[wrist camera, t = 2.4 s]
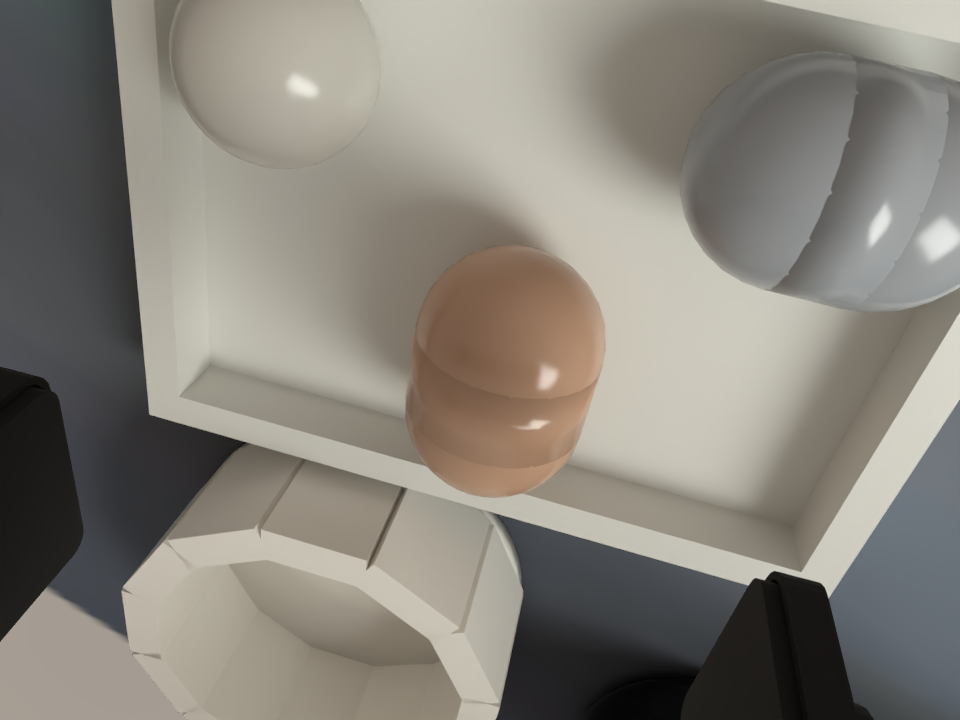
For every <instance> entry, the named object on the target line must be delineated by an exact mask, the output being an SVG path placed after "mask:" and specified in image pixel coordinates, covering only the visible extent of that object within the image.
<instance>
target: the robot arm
mask: <svg viewBox="0 0 960 720" xmlns="http://www.w3.org/2000/svg"><path fill="white" fill-rule="evenodd" d="M82 537H83V523H82V517H81V512H80V507H79V502H78V497H77V491H76V486H75V481H74V476H73V471H72V465H71V460H70V455H69V450H68V444H67V439H66V434H65V429H64V424H63V418H62V413H61V408H60V403H59V399H58V396H57V395H56V394H55V393H54V392H51V389H50V387H49V384H48V382H47V381H46V380H45V379H44V378H41V377H37V376H33V375H30V374H26V373H22V372H18V371H14V370H11V369H7V368H3V367H0V641H1V640H2V639H3V638H4V636H5V635H6V634H7V633H8V632H9V631H10V629H11V628H12V627H13V626H14V625H15V623H16V622H17V621H18V620H19V619H20V618H21V616H22V615H23V614H24V613H25V612H26V611H27V609H28V608H29V607H30V606H31V605H32V604H33V602H34V601H35V600H36V599H37V598H38V596H39V595H40V594H41V593H42V592H43V591H44V589H45V588H46V587H47V586H48V585H49V584H50V582H51V581H52V580H53V579H54V578H55V576H56V575H57V574H58V573H59V572H60V571H61V569H62V568H63V567H64V566H65V565H66V563H67V562H68V561H69V560H70V559H71V558H72V556H73V555H74V554H75V552H76V551H77V549H78V547H79V545H80V543H81V540H82ZM681 720H874V719H873V717H872V716H871V715H870V713H869V712H868V710H867V709H866V708H864V707H862V706H860V705H859V704H855V703H854V702H853V698H852V694H851V689H850V685H849V681H848V677H847V673H846V669H845V665H844V661H843V656H842V652H841V648H840V644H839V640H838V636H837V632H836V628H835V623H834V619H833V615H832V611H831V607H830V603H829V599H828V595H827V592H826V589H825V587H824V586H823V585H822V584H821V583H819V582H815V581H812V580H808V579H804V578H800V577H796V576H793V575H789V574H785V573H781V572H777V571H773V572H771V573H770V574H769V575H768V576H767V578H766V579H765V580H762V579H758V578H755V579H753V580H752V581H751V583H750V584H749V586H748V588H747V589H746V591H745V593H744V595H743V596H742V598H741V600H740V602H739V603H738V605H737V607H736V609H735V610H734V612H733V614H732V616H731V617H730V619H729V621H728V623H727V624H726V626H725V628H724V629H723V631H722V633H721V635H720V636H719V638H718V640H717V642H716V643H715V645H714V647H713V649H712V650H711V652H710V654H709V656H708V657H707V659H706V661H705V663H704V664H703V666H702V668H701V670H700V671H699V673H698V675H697V676H696V678H695V680H694V682H693V683H692V685H691V687H690V689H689V690H688V692H687V694H686V696H685V699H684V702H683V706H682V711H681Z"/></svg>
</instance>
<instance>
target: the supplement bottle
mask: <svg viewBox="0 0 960 720" xmlns="http://www.w3.org/2000/svg"><path fill="white" fill-rule="evenodd" d="M694 680H695V679H685V678H660V679H650V680H644V681H639V682H635V683H631V684H628V685H625V686H622V687H620V688H618V689H616V690H613V691H611V692H610V693H608V694H606V695H605V696H603V697H602V698H601V699H599V700H598V701H597V702H596V703H595V704H594V705H593V706H592V707H591V708H590V709H589V710H588V711H587V713H586V714H585V715H584V717H583V719H582V720H681V711H682V706H683V702H684V699H685V696H686V694H687V692H688V690H689V689H690V687H691V685H692V683H693V682H694Z"/></svg>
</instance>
